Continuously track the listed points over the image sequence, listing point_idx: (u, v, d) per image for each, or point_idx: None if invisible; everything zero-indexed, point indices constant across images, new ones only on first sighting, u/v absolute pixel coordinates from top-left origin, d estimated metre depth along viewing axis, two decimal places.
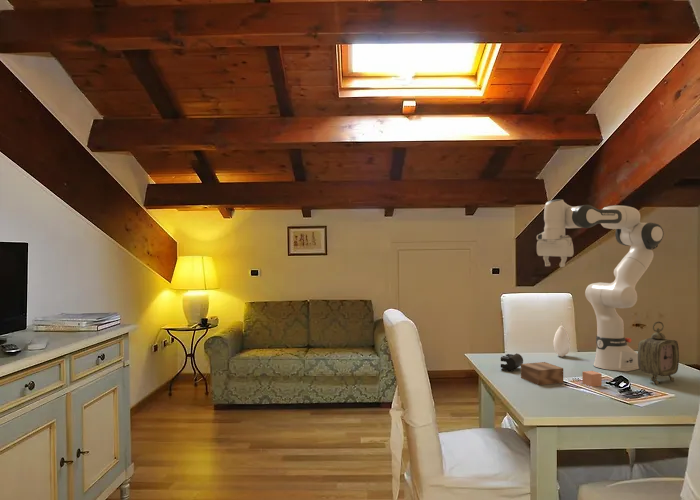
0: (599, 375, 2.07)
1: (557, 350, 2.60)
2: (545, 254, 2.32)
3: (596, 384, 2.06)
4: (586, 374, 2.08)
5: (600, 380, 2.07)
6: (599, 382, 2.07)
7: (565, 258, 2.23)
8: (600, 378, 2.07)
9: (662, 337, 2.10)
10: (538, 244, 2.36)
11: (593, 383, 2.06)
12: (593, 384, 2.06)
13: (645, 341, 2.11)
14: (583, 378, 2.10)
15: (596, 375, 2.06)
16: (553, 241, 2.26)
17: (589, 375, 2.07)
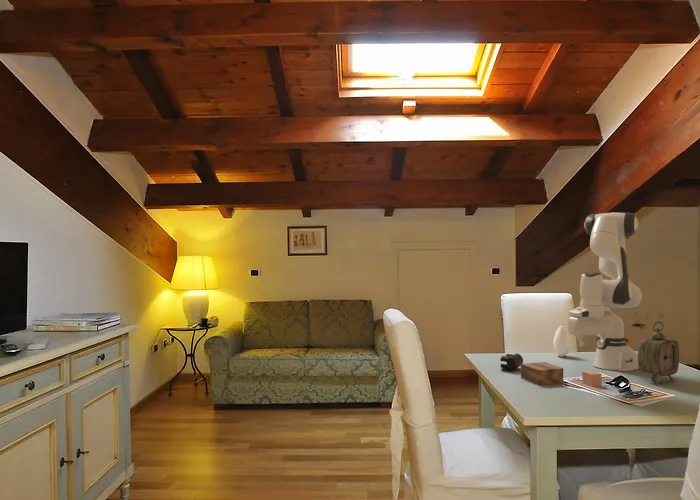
0: (599, 375, 2.07)
1: (557, 350, 2.60)
2: (586, 333, 2.05)
3: (596, 384, 2.06)
4: (586, 374, 2.08)
5: (600, 380, 2.07)
6: (599, 382, 2.07)
7: None
8: (600, 378, 2.07)
9: (662, 337, 2.10)
10: (578, 322, 2.04)
11: (593, 383, 2.06)
12: (593, 384, 2.06)
13: (645, 341, 2.11)
14: (583, 378, 2.10)
15: (596, 375, 2.06)
16: (600, 318, 2.07)
17: (589, 375, 2.07)
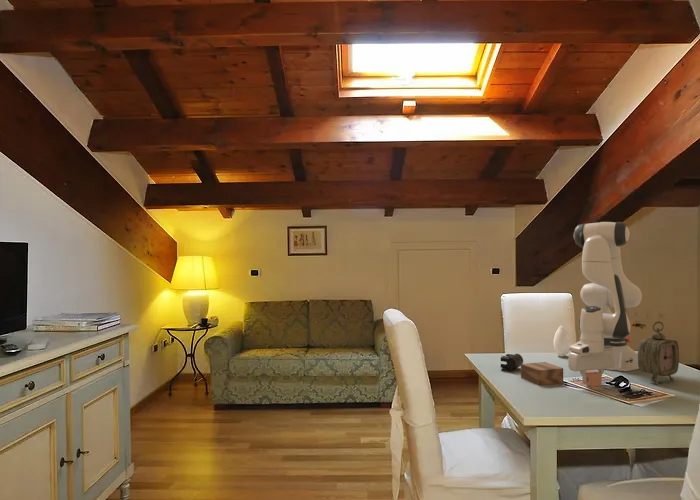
0: (599, 375, 2.07)
1: (557, 350, 2.60)
2: (587, 369, 2.06)
3: (596, 384, 2.06)
4: (586, 374, 2.08)
5: (600, 380, 2.07)
6: (599, 382, 2.07)
7: None
8: (600, 378, 2.07)
9: (662, 337, 2.10)
10: (579, 358, 2.04)
11: (593, 383, 2.06)
12: (593, 384, 2.06)
13: (645, 341, 2.11)
14: None
15: (596, 375, 2.06)
16: (600, 353, 2.07)
17: (589, 375, 2.07)
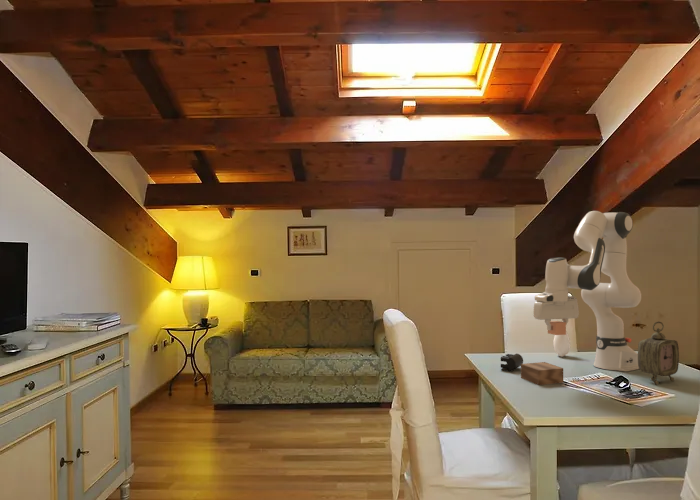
0: (563, 324, 2.11)
1: (557, 350, 2.60)
2: (551, 317, 2.10)
3: (560, 332, 2.11)
4: (551, 323, 2.13)
5: (564, 329, 2.11)
6: (563, 330, 2.11)
7: None
8: (564, 327, 2.11)
9: (662, 337, 2.10)
10: (543, 307, 2.09)
11: (558, 332, 2.10)
12: (558, 333, 2.10)
13: (645, 341, 2.11)
14: None
15: (560, 324, 2.11)
16: (564, 303, 2.12)
17: (554, 324, 2.11)
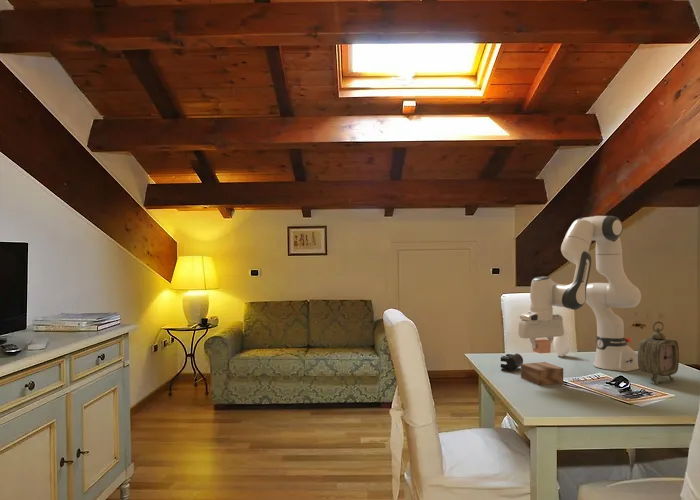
0: (548, 342, 2.14)
1: (557, 350, 2.60)
2: (536, 336, 2.13)
3: (545, 351, 2.13)
4: (536, 341, 2.15)
5: (549, 347, 2.14)
6: (548, 349, 2.14)
7: None
8: (549, 345, 2.14)
9: (662, 337, 2.10)
10: (527, 326, 2.11)
11: (542, 350, 2.13)
12: (542, 351, 2.13)
13: (645, 341, 2.11)
14: None
15: (545, 342, 2.13)
16: (549, 321, 2.14)
17: (538, 342, 2.14)
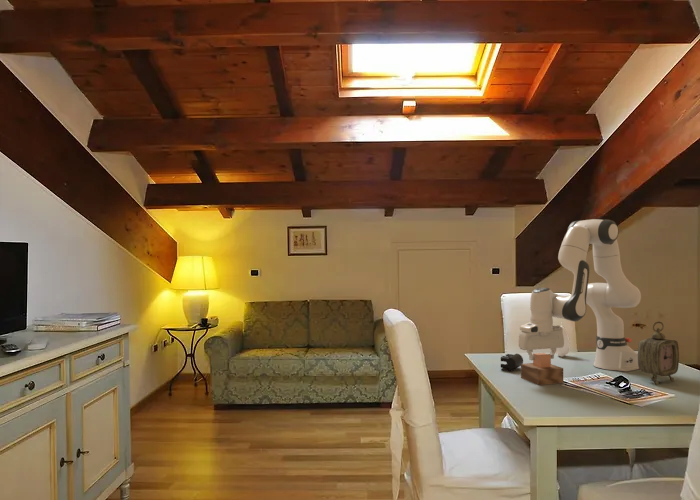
0: (548, 356, 2.14)
1: (557, 350, 2.60)
2: (536, 347, 2.13)
3: (545, 365, 2.13)
4: (536, 355, 2.15)
5: (549, 361, 2.14)
6: (548, 363, 2.14)
7: None
8: (549, 359, 2.14)
9: (662, 337, 2.10)
10: (528, 337, 2.11)
11: (543, 364, 2.13)
12: (542, 365, 2.13)
13: (645, 341, 2.11)
14: (534, 360, 2.17)
15: (545, 356, 2.13)
16: (549, 333, 2.14)
17: (538, 356, 2.14)
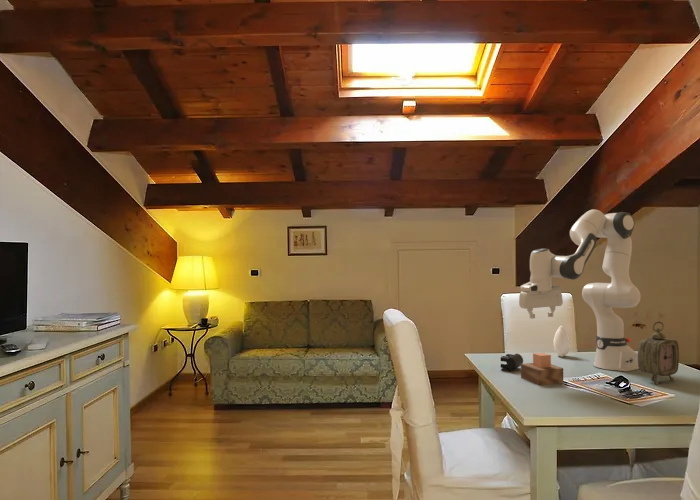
0: (548, 356, 2.14)
1: (557, 350, 2.60)
2: (536, 306, 2.21)
3: (545, 365, 2.13)
4: (536, 355, 2.15)
5: (549, 361, 2.14)
6: (548, 363, 2.14)
7: None
8: (549, 359, 2.14)
9: (662, 337, 2.10)
10: (528, 296, 2.19)
11: (543, 364, 2.13)
12: (542, 365, 2.13)
13: (645, 341, 2.11)
14: (534, 360, 2.17)
15: (545, 356, 2.13)
16: (548, 292, 2.22)
17: (538, 356, 2.14)
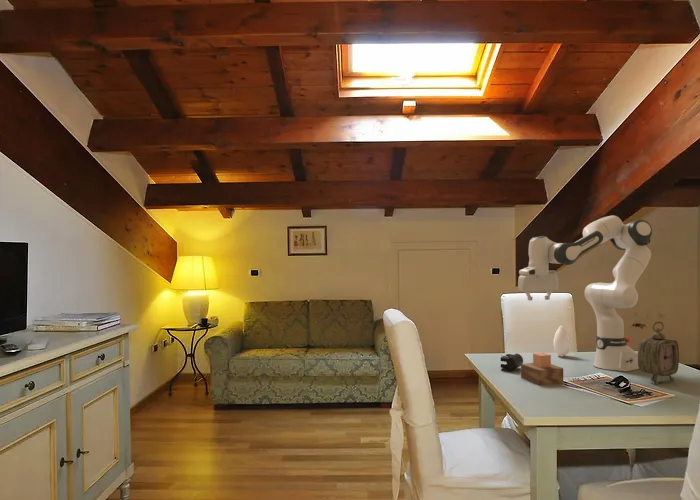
0: (548, 356, 2.14)
1: (557, 350, 2.60)
2: (533, 289, 2.38)
3: (545, 365, 2.13)
4: (536, 355, 2.15)
5: (549, 361, 2.14)
6: (548, 363, 2.14)
7: None
8: (549, 359, 2.14)
9: (662, 337, 2.10)
10: (526, 279, 2.36)
11: (543, 364, 2.13)
12: (542, 365, 2.13)
13: (645, 341, 2.11)
14: (534, 360, 2.17)
15: (545, 356, 2.13)
16: (545, 276, 2.39)
17: (538, 356, 2.14)
